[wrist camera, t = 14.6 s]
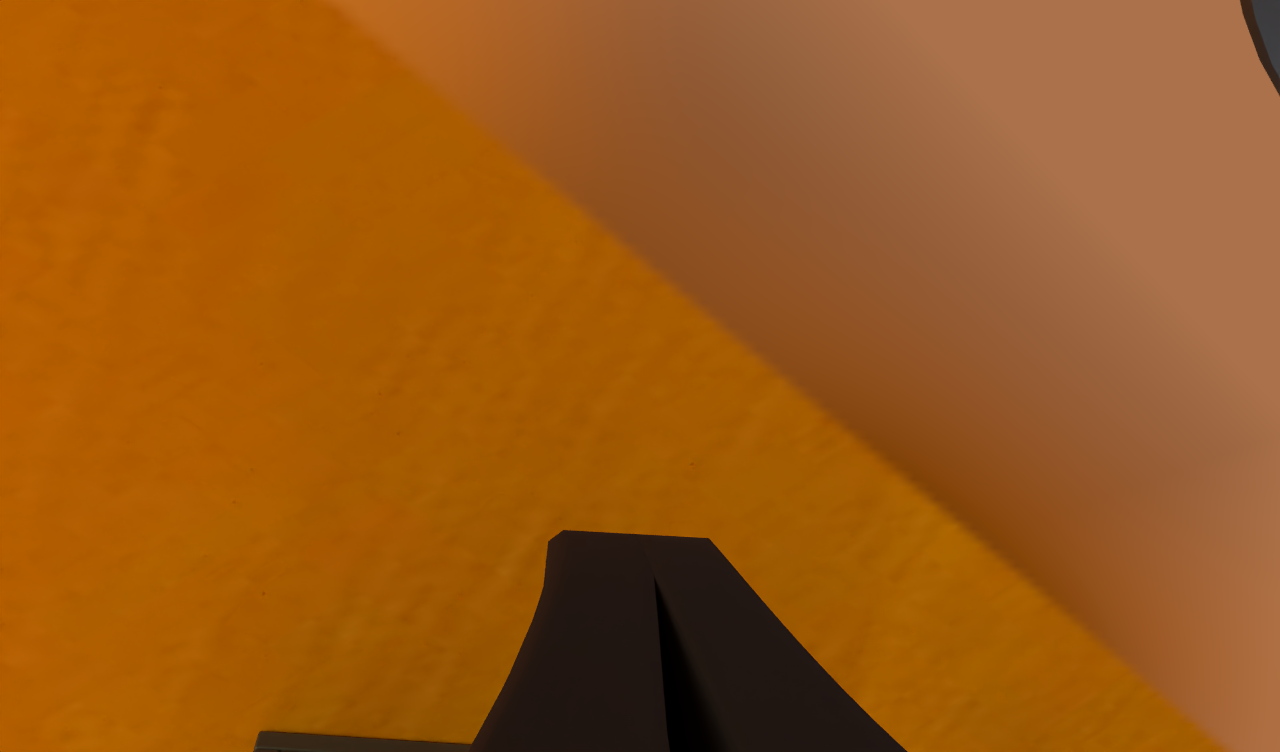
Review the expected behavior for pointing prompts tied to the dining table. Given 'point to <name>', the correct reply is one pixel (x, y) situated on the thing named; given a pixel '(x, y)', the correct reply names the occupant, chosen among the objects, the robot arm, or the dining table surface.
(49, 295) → the dining table surface
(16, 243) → the dining table surface
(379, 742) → the carton
